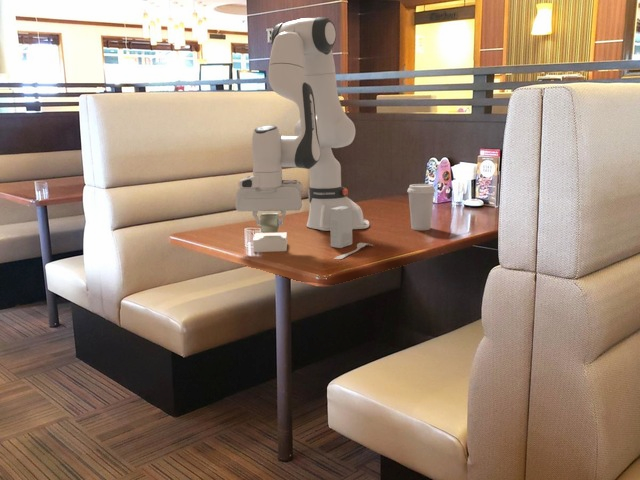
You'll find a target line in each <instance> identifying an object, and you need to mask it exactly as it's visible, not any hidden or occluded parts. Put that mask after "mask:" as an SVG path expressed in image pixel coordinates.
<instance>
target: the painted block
mask: <svg viewBox="0 0 640 480" xmlns="http://www.w3.org/2000/svg"><path fill="white" fill-rule="evenodd" d="M287 233H288V232H260V233H259V232H258V233H254V235H253V236H254V237H253V238H252V249H253V251H252V252H253V253H263V252H264V253H267V252H287V249H288V248H287V247H288V234H287Z"/></svg>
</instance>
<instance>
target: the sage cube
mask: <svg viewBox="0 0 640 480" xmlns="http://www.w3.org/2000/svg"><path fill="white" fill-rule="evenodd" d="M279 217H280V216H279V212H262V213H261V214H260V217H259V219H260V223H261V226H260V233H278V231H279V230H280V225H278V222H277V220H278V219H280V218H279Z"/></svg>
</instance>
